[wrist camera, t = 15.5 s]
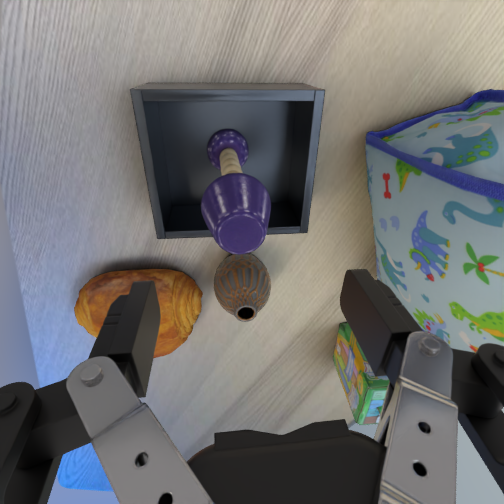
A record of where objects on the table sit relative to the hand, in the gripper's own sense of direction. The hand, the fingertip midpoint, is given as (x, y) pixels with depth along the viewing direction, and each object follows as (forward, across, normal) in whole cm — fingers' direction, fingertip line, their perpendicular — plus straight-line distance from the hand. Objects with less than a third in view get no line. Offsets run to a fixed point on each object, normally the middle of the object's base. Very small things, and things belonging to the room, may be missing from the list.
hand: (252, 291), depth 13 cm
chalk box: (+23, -21, +31) cm, 44 cm away
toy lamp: (+22, 0, 0) cm, 22 cm away
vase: (+23, -1, +15) cm, 27 cm away
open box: (+23, 0, 0) cm, 23 cm away
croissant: (+23, +12, +20) cm, 33 cm away
